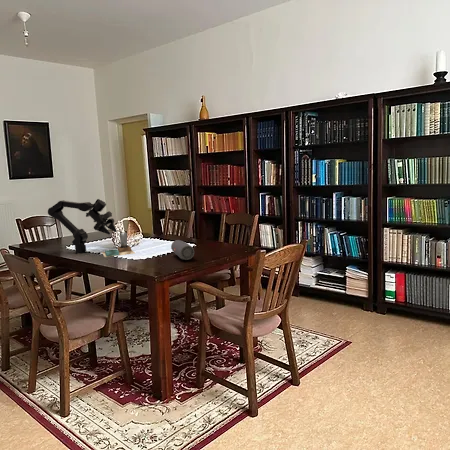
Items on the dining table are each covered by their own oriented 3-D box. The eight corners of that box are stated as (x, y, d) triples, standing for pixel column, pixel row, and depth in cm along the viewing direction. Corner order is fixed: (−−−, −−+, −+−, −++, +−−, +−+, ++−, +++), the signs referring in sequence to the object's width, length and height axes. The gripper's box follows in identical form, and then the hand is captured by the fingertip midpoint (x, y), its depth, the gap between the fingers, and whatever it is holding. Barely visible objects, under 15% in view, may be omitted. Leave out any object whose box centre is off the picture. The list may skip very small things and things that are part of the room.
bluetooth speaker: (170, 255, 267) (169, 240, 266) (185, 254, 271) (184, 238, 269) (180, 262, 246) (179, 245, 245) (195, 260, 250) (194, 243, 248)
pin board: (105, 258, 267) (104, 253, 267) (101, 253, 284) (101, 248, 283) (135, 255, 274) (135, 249, 274) (130, 250, 291) (130, 245, 290)
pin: (121, 251, 282) (120, 233, 280) (120, 250, 286) (119, 232, 284) (128, 250, 283) (126, 233, 282) (127, 249, 287) (125, 232, 286)
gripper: (96, 209, 274) (113, 226, 273) (110, 206, 292) (126, 222, 291) (86, 221, 278) (103, 238, 276) (101, 218, 295) (117, 233, 294)
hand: (113, 232), depth 284 cm, fingers open, 9 cm apart
